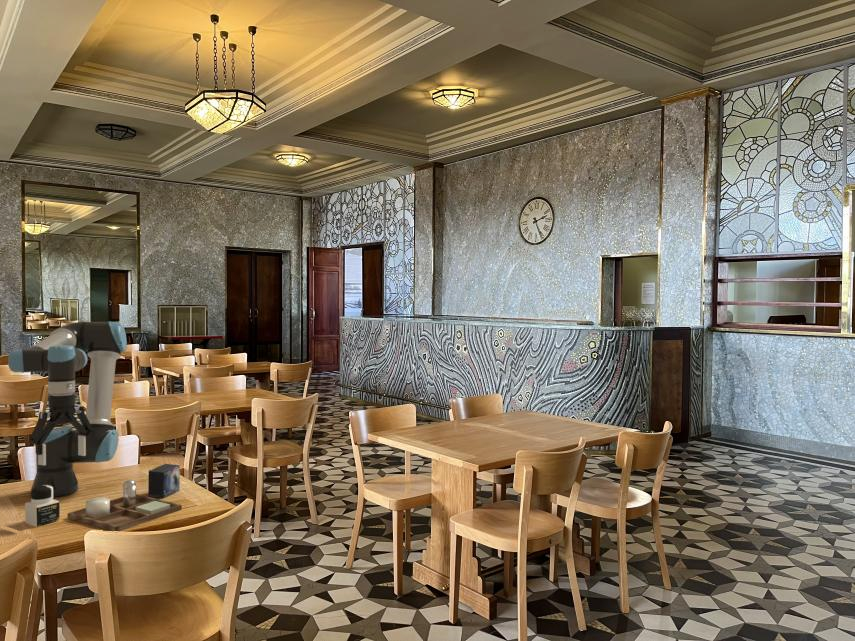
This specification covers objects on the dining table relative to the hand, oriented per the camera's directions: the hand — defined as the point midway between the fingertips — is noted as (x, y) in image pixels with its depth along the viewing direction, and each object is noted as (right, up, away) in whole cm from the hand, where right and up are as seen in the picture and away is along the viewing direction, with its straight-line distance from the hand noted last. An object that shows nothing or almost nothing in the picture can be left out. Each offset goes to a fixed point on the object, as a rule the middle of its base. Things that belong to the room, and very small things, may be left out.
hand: (62, 460), depth 211 cm
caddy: (+18, -20, +6) cm, 27 cm away
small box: (+22, -19, +28) cm, 40 cm away
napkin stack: (+26, -19, +8) cm, 33 cm away
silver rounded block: (+10, -19, +4) cm, 22 cm away
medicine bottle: (-5, -20, -2) cm, 21 cm away
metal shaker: (+15, -19, +14) cm, 28 cm away
